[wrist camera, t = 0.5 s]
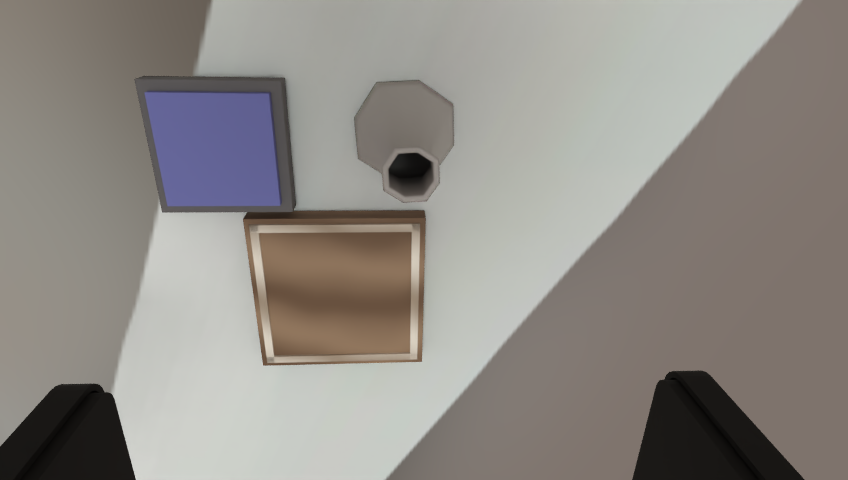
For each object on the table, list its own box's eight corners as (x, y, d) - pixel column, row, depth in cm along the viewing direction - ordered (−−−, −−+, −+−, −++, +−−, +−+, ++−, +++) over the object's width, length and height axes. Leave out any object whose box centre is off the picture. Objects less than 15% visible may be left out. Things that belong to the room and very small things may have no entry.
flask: (439, 190, 38) (455, 250, 29) (343, 166, 37) (329, 220, 28) (469, 94, 35) (497, 127, 26) (366, 64, 34) (359, 89, 25)
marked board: (248, 211, 38) (242, 220, 36) (424, 210, 39) (425, 219, 37) (267, 354, 43) (262, 367, 42) (420, 350, 44) (421, 363, 43)
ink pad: (143, 75, 34) (130, 80, 32) (284, 78, 34) (278, 82, 32) (169, 205, 37) (159, 215, 36) (295, 204, 38) (291, 215, 36)
